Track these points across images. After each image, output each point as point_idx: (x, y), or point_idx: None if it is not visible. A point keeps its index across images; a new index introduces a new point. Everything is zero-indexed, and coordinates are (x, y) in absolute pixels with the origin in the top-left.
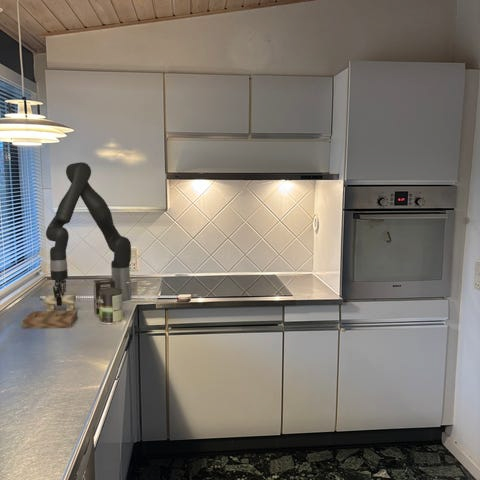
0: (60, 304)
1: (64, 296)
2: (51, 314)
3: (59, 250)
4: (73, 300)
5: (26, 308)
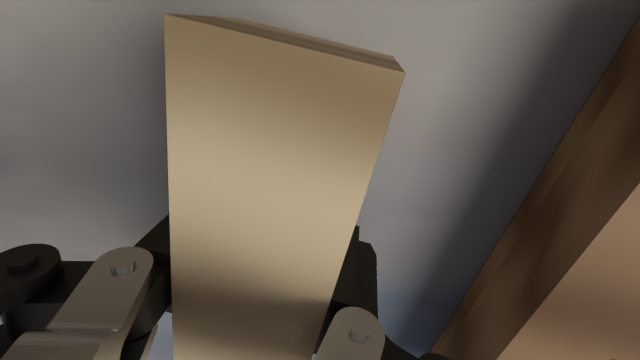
0: (363, 243)
1: (272, 257)
2: None
3: None
4: (395, 63)
5: (166, 356)
